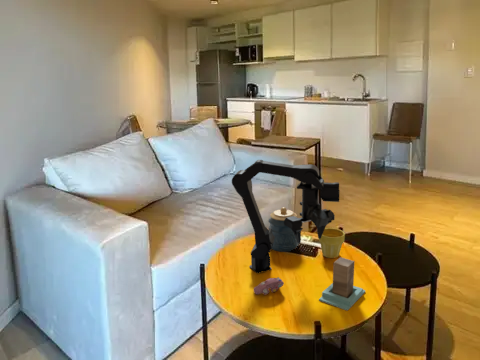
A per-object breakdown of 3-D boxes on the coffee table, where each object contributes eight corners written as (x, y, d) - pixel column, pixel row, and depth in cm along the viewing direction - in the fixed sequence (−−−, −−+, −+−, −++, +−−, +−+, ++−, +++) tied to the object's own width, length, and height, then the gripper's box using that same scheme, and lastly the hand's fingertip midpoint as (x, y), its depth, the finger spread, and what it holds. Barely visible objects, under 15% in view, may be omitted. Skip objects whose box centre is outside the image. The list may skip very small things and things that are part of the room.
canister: (291, 254, 171) (291, 214, 166) (263, 248, 178) (262, 209, 173) (303, 243, 182) (303, 205, 177) (276, 237, 188) (276, 200, 184)
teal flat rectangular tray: (347, 310, 131) (347, 304, 131) (319, 300, 138) (319, 294, 137) (365, 291, 142) (365, 286, 141) (338, 283, 148) (338, 277, 147)
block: (346, 300, 136) (347, 266, 133) (332, 295, 139) (333, 262, 136) (352, 293, 140) (354, 261, 137) (339, 289, 143) (340, 257, 140)
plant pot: (342, 249, 175) (342, 227, 172) (345, 260, 165) (346, 237, 162) (317, 249, 176) (317, 227, 173) (319, 260, 166) (319, 237, 163)
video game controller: (257, 301, 141) (262, 289, 136) (251, 290, 144) (256, 278, 139) (282, 293, 145) (287, 281, 141) (275, 283, 148) (280, 271, 144)
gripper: (301, 211, 137) (301, 254, 142) (345, 202, 146) (343, 243, 150) (283, 202, 147) (283, 243, 151) (325, 194, 155) (324, 232, 159)
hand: (309, 240), depth 153 cm, fingers open, 9 cm apart
